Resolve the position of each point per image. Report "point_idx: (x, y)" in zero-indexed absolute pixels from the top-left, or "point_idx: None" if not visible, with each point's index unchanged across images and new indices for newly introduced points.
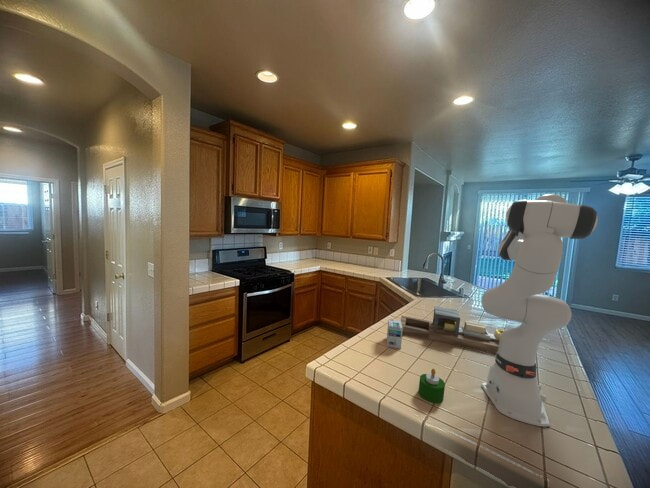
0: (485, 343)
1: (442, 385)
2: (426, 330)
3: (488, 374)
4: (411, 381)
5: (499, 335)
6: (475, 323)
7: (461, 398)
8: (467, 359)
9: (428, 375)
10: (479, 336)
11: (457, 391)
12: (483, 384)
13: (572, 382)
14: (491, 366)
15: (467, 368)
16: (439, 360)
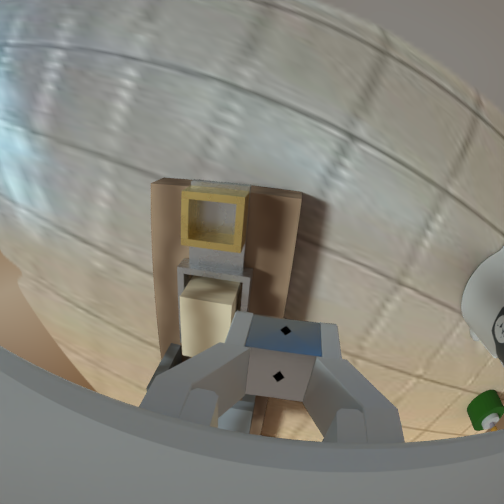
0: (285, 290)
1: (500, 408)
2: (256, 419)
3: (484, 345)
4: (451, 422)
5: (242, 245)
6: (191, 327)
7: (494, 370)
8: (365, 340)
9: (486, 427)
10: (248, 305)
11: (480, 373)
12: (477, 339)
13: (413, 75)
14: (497, 357)
15: (411, 349)
16: (384, 393)
